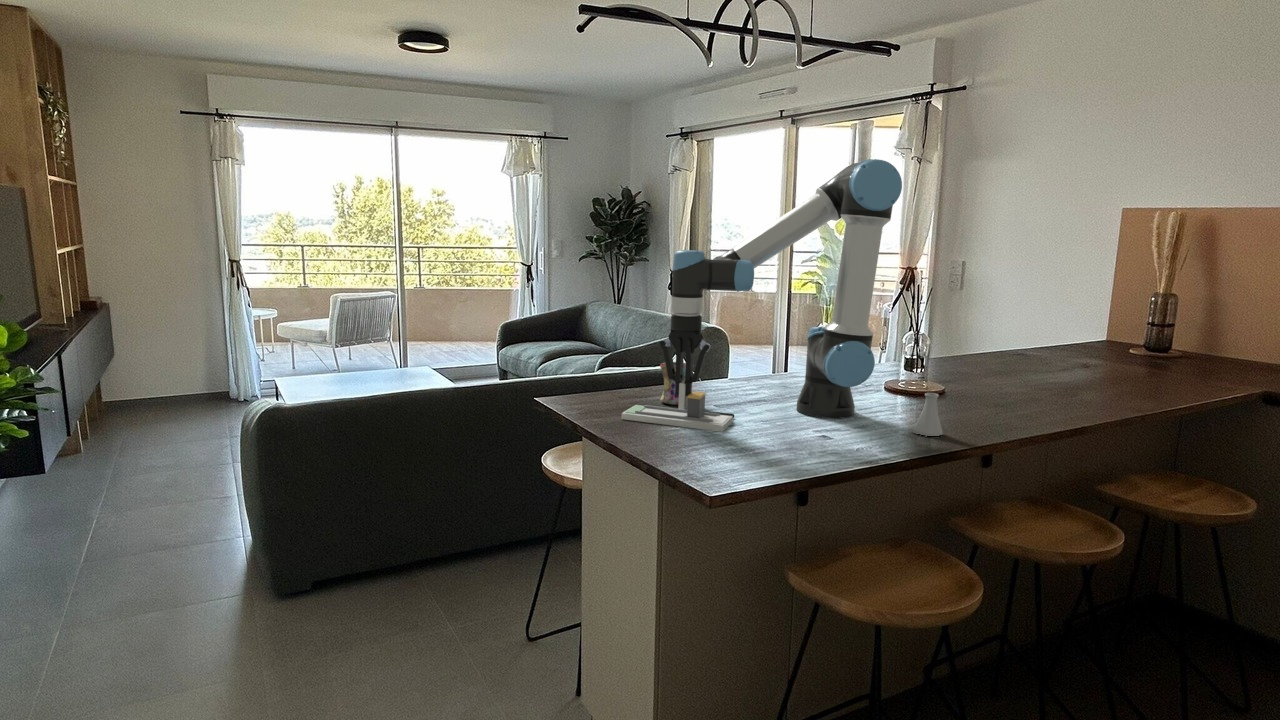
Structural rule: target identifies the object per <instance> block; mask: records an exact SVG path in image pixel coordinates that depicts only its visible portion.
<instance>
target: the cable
mask: <svg viewBox="0 0 1280 720" xmlns="http://www.w3.org/2000/svg"><path fill="white" fill-rule="evenodd" d="M657 406H658V405H657ZM658 407H660V406H658ZM665 407H666V408H671V407H669V406H665ZM674 408H675V409H678V407H674ZM684 410H687V408H686V409H684ZM705 412H709V413H717V414H720V415H727V416H733V419H734V418H735V414H734V413H727V412H717V411H709V410H705Z"/></svg>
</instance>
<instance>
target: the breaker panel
mask: <svg viewBox="0 0 1280 720" xmlns="http://www.w3.org/2000/svg"><path fill="white" fill-rule="evenodd" d="M666 407H667V406H659V407H658V405H649V404H645V405H643V406H642V404H641V405H640V404H635V405H634V406H633V405H632V406H631V407H630V408H628V409H626V410H624V411H623V412H621V420H626V421H635V422H641V423H642V422H643V423H649V424H650V423H651V424H659V425H666V426H675V427H680V428H681V427H683V428H690V429H698V430H707V431H714V432H721V433H723V432H724V431H725V430H726V429H728V427H729V426H730V425H731V424H732V423H733V419H734V418H733V416H726V415H720V414H717V413H709V412H705V413H704V415H703V416H702V417H701V418H693V417H687V410H682V409H675V408H676V407H670V408H666Z"/></svg>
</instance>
